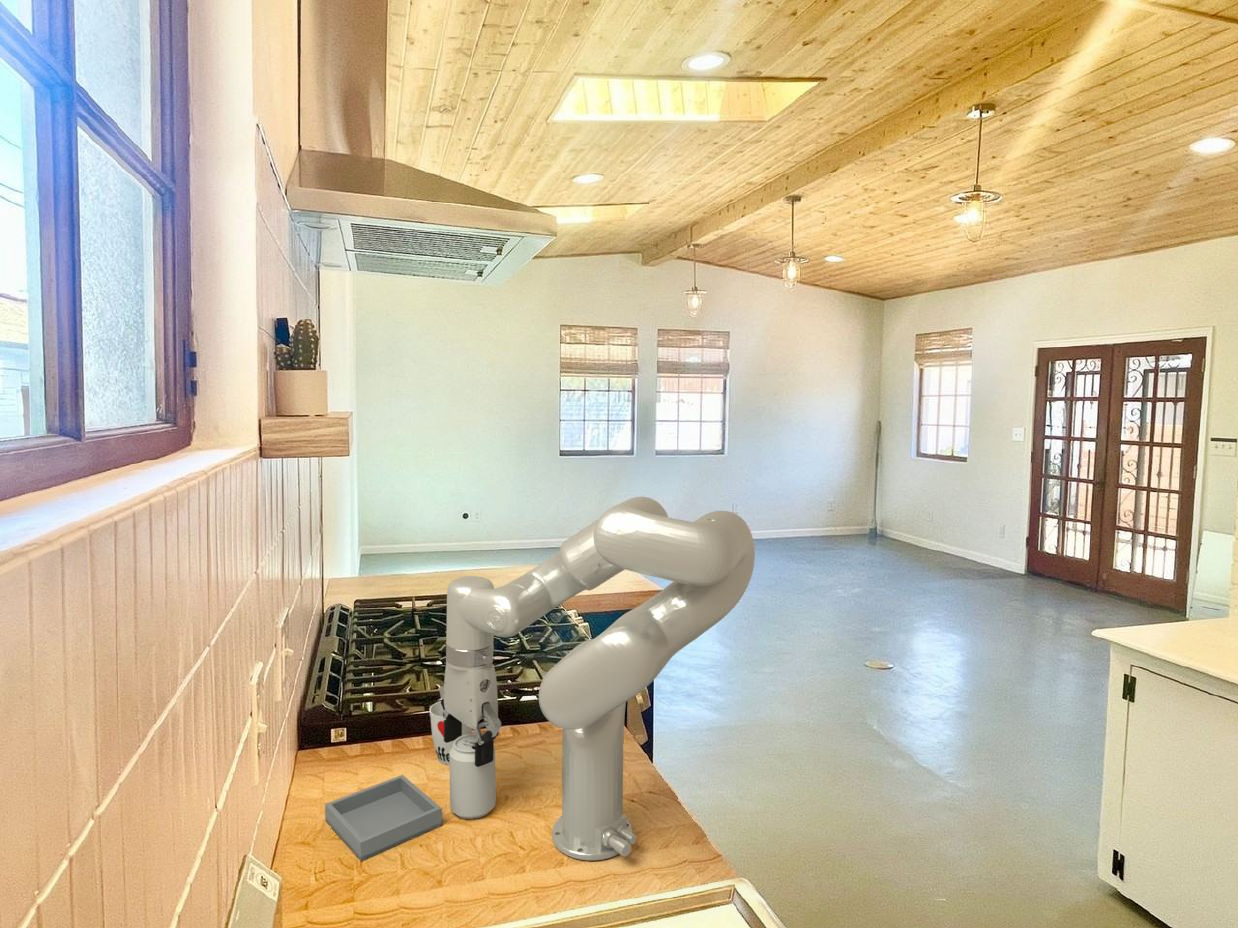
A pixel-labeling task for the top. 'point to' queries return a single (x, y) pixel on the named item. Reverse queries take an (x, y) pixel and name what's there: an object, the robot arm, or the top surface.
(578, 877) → the top surface
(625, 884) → the top surface
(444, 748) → the cup
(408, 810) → the bin
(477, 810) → the can
